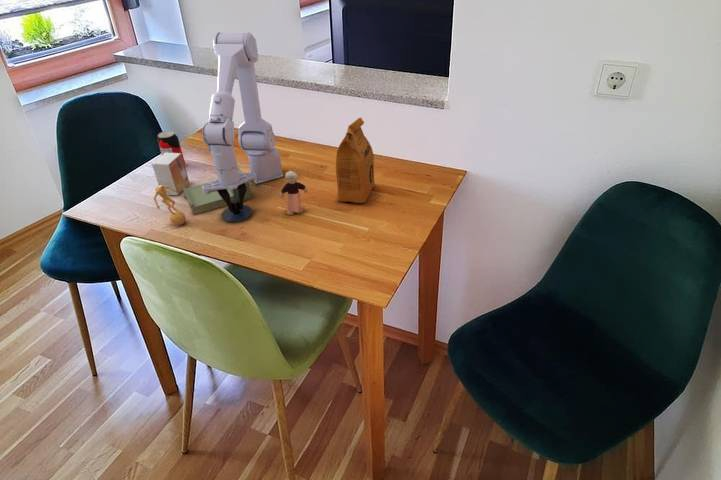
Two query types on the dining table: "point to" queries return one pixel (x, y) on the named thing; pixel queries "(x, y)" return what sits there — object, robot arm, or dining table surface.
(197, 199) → the green step block
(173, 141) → the beverage can
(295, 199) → the grandmother figurine
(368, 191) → the coffee package
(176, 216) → the figurine
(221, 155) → the robot arm
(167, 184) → the small box
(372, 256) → the dining table surface
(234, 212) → the lid
